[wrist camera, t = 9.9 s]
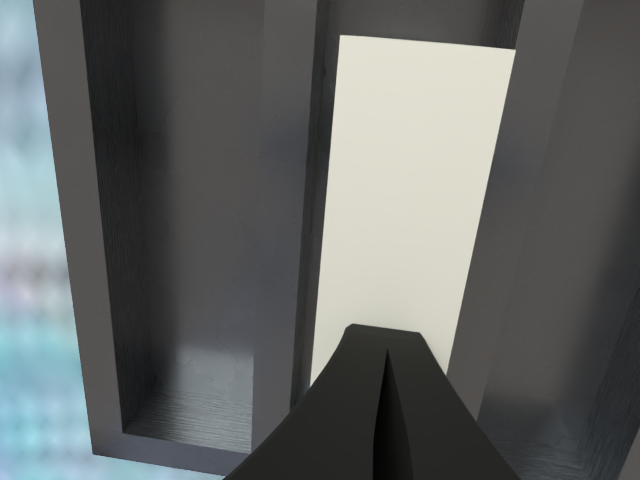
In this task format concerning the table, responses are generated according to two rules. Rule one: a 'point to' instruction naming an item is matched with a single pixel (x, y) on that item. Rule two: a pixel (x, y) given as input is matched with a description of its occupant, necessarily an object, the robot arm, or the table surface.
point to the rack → (309, 212)
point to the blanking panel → (406, 186)
